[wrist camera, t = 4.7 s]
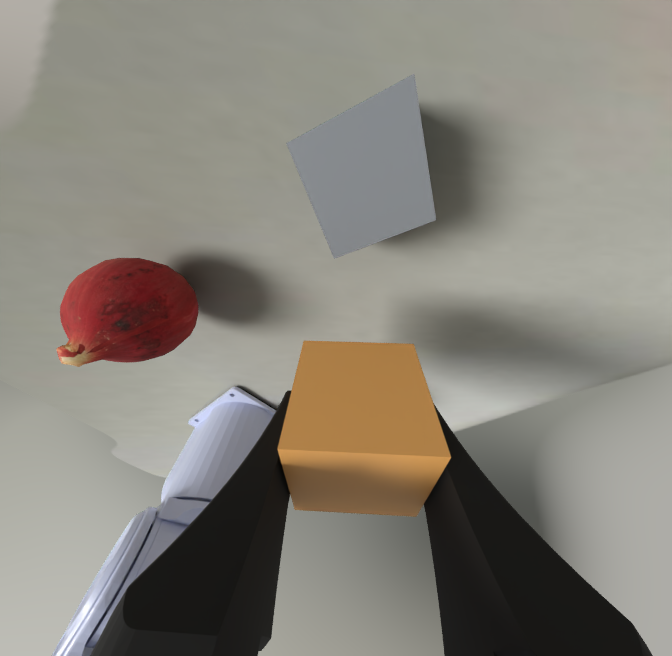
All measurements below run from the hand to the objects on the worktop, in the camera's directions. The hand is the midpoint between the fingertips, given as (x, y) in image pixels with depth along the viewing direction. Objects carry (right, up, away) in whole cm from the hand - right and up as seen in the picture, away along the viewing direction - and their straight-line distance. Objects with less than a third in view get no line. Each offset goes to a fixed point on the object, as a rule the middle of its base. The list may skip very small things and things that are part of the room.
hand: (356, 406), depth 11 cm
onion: (-12, +7, +6) cm, 15 cm away
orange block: (0, +1, +1) cm, 2 cm away
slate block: (0, +12, +2) cm, 12 cm away
